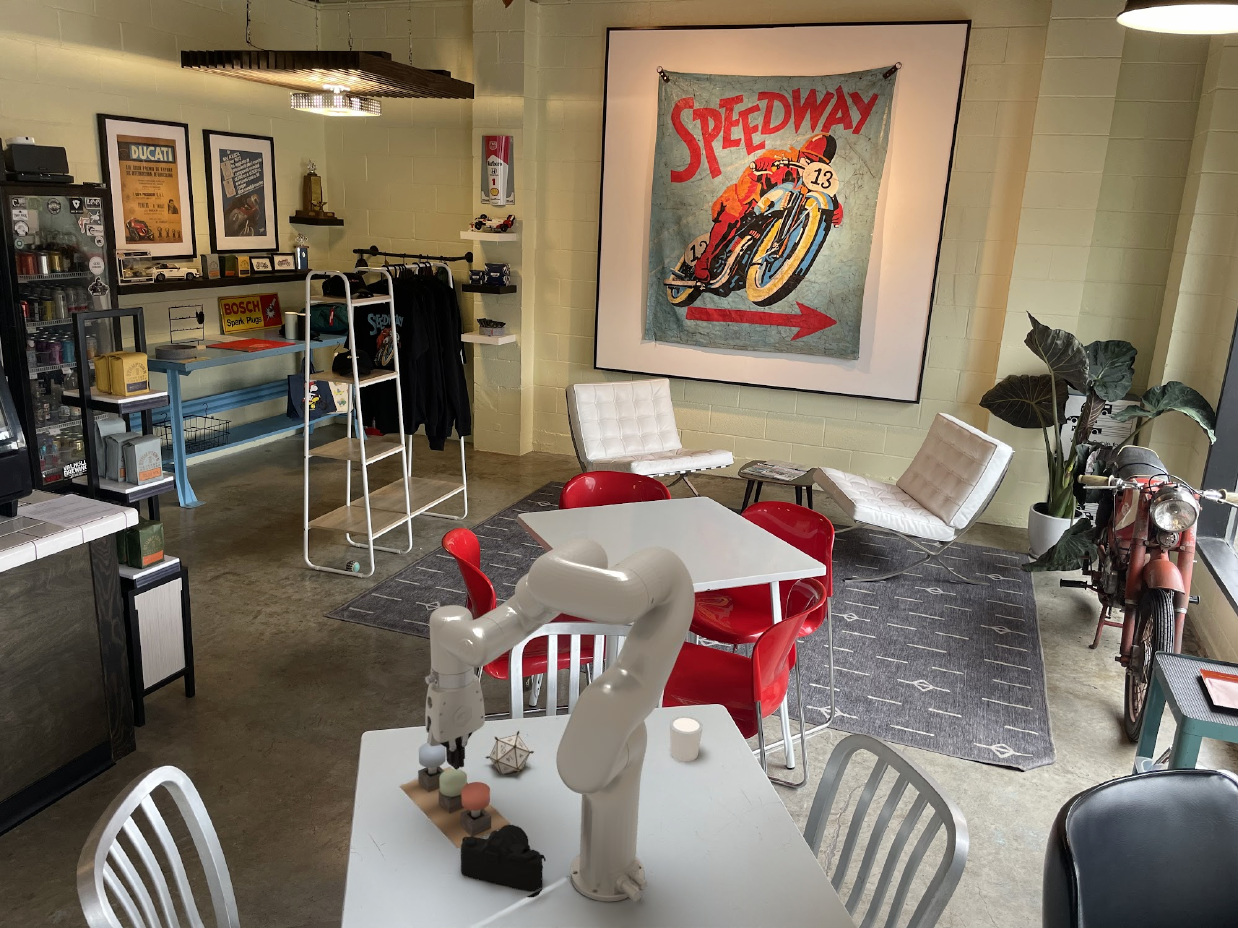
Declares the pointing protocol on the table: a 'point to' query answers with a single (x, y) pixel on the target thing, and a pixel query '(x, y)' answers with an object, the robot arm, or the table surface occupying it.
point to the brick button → (475, 797)
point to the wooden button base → (450, 809)
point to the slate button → (431, 757)
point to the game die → (509, 754)
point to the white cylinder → (685, 738)
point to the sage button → (452, 782)
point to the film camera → (503, 860)
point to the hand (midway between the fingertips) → (456, 764)
